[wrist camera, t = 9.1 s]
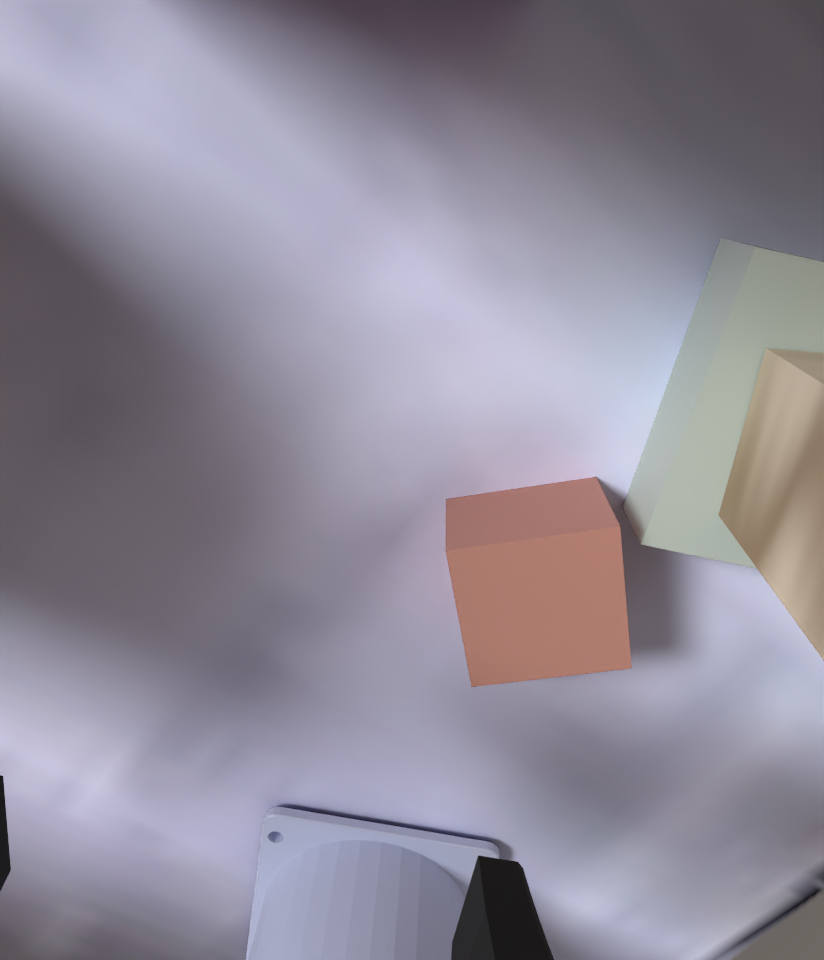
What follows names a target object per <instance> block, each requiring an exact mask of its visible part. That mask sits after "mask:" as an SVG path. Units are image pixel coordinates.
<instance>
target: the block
mask: <svg viewBox="0 0 824 960" xmlns="http://www.w3.org/2000/svg"><path fill="white" fill-rule="evenodd" d="M446 555H447V560H448V565H449V570H450V576H451V581H452V586H453V591H454V597H455V602H456V607H457V612H458V618H459V623H460V628H461V634H462V639H463V644H464V649H465V655H466V660H467V665H468V670H469V676H470V681H471V686H472V687H476V686H484V685H493V684H501V683H510V682H518V681H527V680H536V679H544V678H553V677H561V676H570V675H578V674H587V673H595V672H604V671H613V670H621V669H630V668H632V666H631V654H630V641H629V629H628V616H627V604H626V592H625V579H624V567H623V554H622V542H621V529H620V525H619V523H618V521H617V519H616V516H615V514H614V512H613V510H612V508H611V506H610V504H609V502H608V500H607V498H606V496H605V494H604V492H603V490H602V487H601V485H600V483H599V481H598V479H597V477H592V478H586V479H579V480H572V481H565V482H558V483H552V484H545V485H538V486H531V487H524V488H518V489H511V490H504V491H497V492H491V493H484V494H477V495H470V496H463V497H457V498H450V499H446Z"/></svg>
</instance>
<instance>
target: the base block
mask: <svg viewBox="0 0 824 960" xmlns="http://www.w3.org/2000/svg"><path fill="white" fill-rule="evenodd" d="M766 348H771V349H783V350H795V351H807V352H818V353H824V261H819V260H815V259H810V258H806V257H802V256H797V255H793V254H788V253H784V252H779V251H775V250H770V249H766V248H762V247H757V246H753V245H748V244H744V243H739V242H735V241H730V240H726V239H722V238H720V241H719V244H718V247H717V249H716V252H715V255H714V258H713V260H712V263H711V266H710V269H709V271H708V274H707V277H706V280H705V282H704V285H703V288H702V291H701V293H700V296H699V299H698V302H697V304H696V307H695V310H694V313H693V315H692V318H691V321H690V324H689V326H688V329H687V332H686V335H685V337H684V340H683V343H682V346H681V348H680V351H679V354H678V357H677V359H676V362H675V365H674V368H673V370H672V373H671V376H670V379H669V381H668V384H667V387H666V389H665V392H664V395H663V398H662V400H661V403H660V406H659V409H658V411H657V414H656V417H655V420H654V422H653V425H652V428H651V431H650V433H649V436H648V439H647V442H646V444H645V447H644V450H643V453H642V455H641V458H640V461H639V464H638V466H637V469H636V472H635V475H634V477H633V480H632V483H631V486H630V488H629V491H628V494H627V497H626V499H625V502H624V505H623V510H624V512H625V514H626V516H627V518H628V520H629V522H630V524H631V526H632V528H633V530H634V532H635V534H636V536H637V538H638V540H639V542H640V544H641V545H646V546H650V547H655V548H660V549H665V550H670V551H674V552H679V553H684V554H689V555H694V556H698V557H703V558H708V559H713V560H718V561H722V562H727V563H732V564H737V565H742V566H746V567H751V568H756V566H755V565H754V564H753V562H752V561H751V559H750V558H749V557H748V555H747V554H746V553H745V551H744V550H743V548H742V547H741V546H740V544H739V543H738V542H737V540H736V539H735V537H734V536H733V535H732V533H731V532H730V531H729V529H728V528H727V526H726V525H725V524H724V522H723V521H722V520H721V518H720V517H719V515H718V514H719V511H720V507H721V504H722V500H723V497H724V493H725V490H726V486H727V483H728V479H729V476H730V472H731V469H732V465H733V462H734V458H735V455H736V451H737V448H738V444H739V441H740V437H741V434H742V430H743V427H744V423H745V420H746V416H747V413H748V409H749V406H750V402H751V399H752V395H753V392H754V388H755V385H756V381H757V378H758V374H759V371H760V367H761V363H762V360H763V356H764V353H765V349H766ZM756 569H757V568H756Z"/></svg>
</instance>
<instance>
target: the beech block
mask: <svg viewBox="0 0 824 960" xmlns="http://www.w3.org/2000/svg"><path fill="white" fill-rule="evenodd" d="M718 515H719V517H720V518H721V520H722V521H723V522H724V524H725V525H726V526H727V528H728V529H729V531H730V532H731V533H732V535H733V536H734V537H735V539H736V540H737V542H738V543H739V544H740V546H741V547H742V548H743V550H744V551H745V553H746V554H747V555H748V557H749V558H750V559H751V561H752V562H753V564H754V565H755V566H756V568H757V569H758V571H759V572H760V573H761V575H762V576H763V577H764V579H765V580H766V582H767V583H768V584H769V586H770V587H771V588H772V590H773V591H774V593H775V594H776V595H777V597H778V598H779V599H780V601H781V602H782V604H783V605H784V606H785V608H786V609H787V610H788V612H789V613H790V615H791V616H792V617H793V619H794V620H795V622H796V623H797V624H798V626H799V627H800V628H801V630H802V631H803V633H804V634H805V635H806V637H807V638H808V639H809V641H810V642H811V644H812V645H813V646H814V648H815V649H816V650H817V652H818V653H819V655H820V656H821V657H822V659H823V660H824V353H818V352H807V351H795V350H783V349H771V348H766V349H765V353H764V356H763V360H762V363H761V367H760V371H759V374H758V378H757V381H756V385H755V388H754V392H753V395H752V399H751V402H750V406H749V409H748V413H747V416H746V420H745V423H744V427H743V430H742V434H741V437H740V441H739V444H738V448H737V451H736V455H735V458H734V462H733V465H732V469H731V472H730V476H729V479H728V483H727V486H726V490H725V493H724V497H723V500H722V504H721V507H720V511H719V514H718Z"/></svg>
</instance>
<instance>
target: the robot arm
mask: <svg viewBox="0 0 824 960" xmlns="http://www.w3.org/2000/svg"><path fill="white" fill-rule="evenodd" d="M275 831H277V832H279V833H277V832H275ZM10 870H11V868H10V856H9V844H8V832H7V820H6V808H5V796H4V783H3V776H0V891H1V889H2V887H3V885H4V883H5V881H6V878H7V876H8V874H9V872H10ZM246 960H554V959H553V956H552V954H551V951H550V948H549V945H548V943H547V940H546V937H545V935H544V932H543V929H542V926H541V923H540V920H539V917H538V914H537V911H536V908H535V906H534V903H533V899H532V896H531V893H530V890H529V887H528V884H527V880H526V877H525V874H524V870H523V868H522V867H521V865H520V864H519V863H518V862H515V861H509V860H503V859H500V855H499V849H498V847H497V846H496V845H494V844H493V843H491V842H487V841H482V840H476V839H470V838H464V837H458V836H452V835H446V834H440V833H434V832H428V831H422V830H416V829H410V828H404V827H398V826H392V825H386V824H380V823H374V822H368V821H362V820H356V819H350V818H344V817H338V816H332V815H326V814H320V813H314V812H308V811H302V810H296V809H291V808H285V807H273V808H270V809H269V810H267V811H266V813H265V816H264V819H263V823H262V831H261V840H260V848H259V856H258V864H257V873H256V881H255V889H254V897H253V906H252V914H251V922H250V930H249V938H248V947H247V955H246Z"/></svg>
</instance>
